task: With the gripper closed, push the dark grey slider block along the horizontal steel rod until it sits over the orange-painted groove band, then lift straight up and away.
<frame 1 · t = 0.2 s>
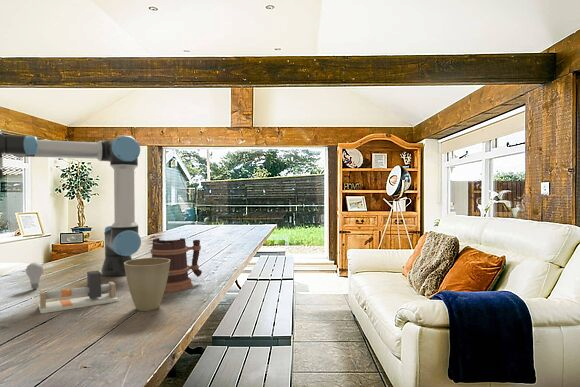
mug: (175, 286, 170), on the table
rail: (79, 303, 145), on the table
dark grey slider block: (94, 284, 147), point 6 cm above the table, slide at -5.0 cm
lightbulb: (35, 289, 167), on the table
plant pot: (148, 308, 139), on the table
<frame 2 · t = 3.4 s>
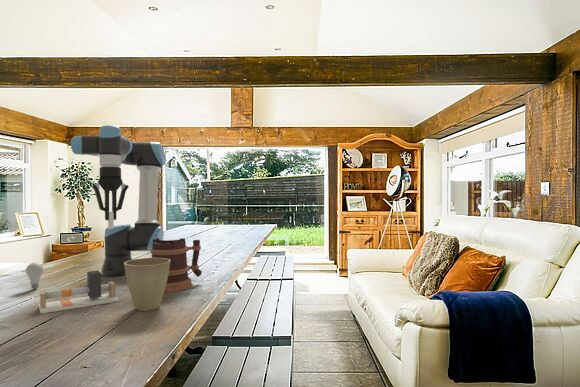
hand: (110, 228, 154), 26 cm above the table, fingers closed
nothing on the table moved.
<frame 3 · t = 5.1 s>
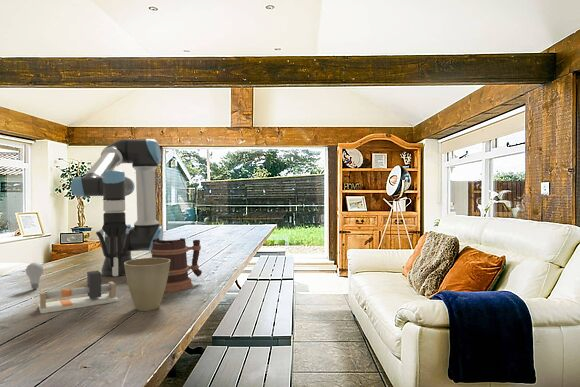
hand: (115, 275, 151), 9 cm above the table, fingers closed
nothing on the table moved.
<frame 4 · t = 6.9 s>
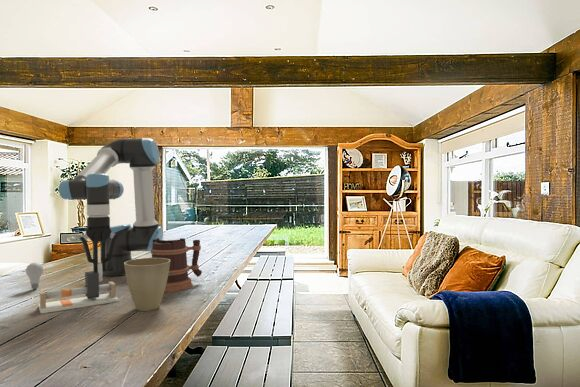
hand: (99, 280, 148), 7 cm above the table, fingers closed
dark grey slider block: (92, 284, 147), point 6 cm above the table, slide at -4.3 cm, touching gripper
everything else where it was.
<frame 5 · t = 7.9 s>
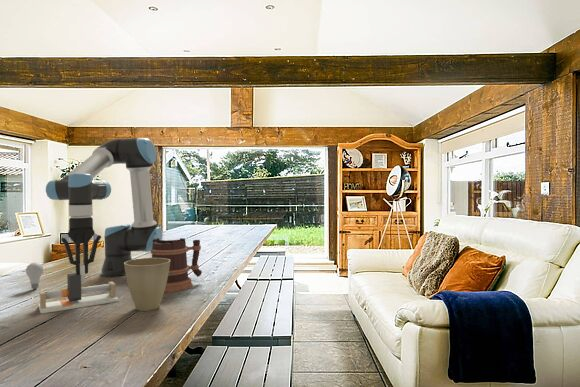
hand: (82, 283, 145), 7 cm above the table, fingers closed
dark grey slider block: (74, 286, 144), point 6 cm above the table, slide at 1.4 cm, touching gripper
everything else where it was.
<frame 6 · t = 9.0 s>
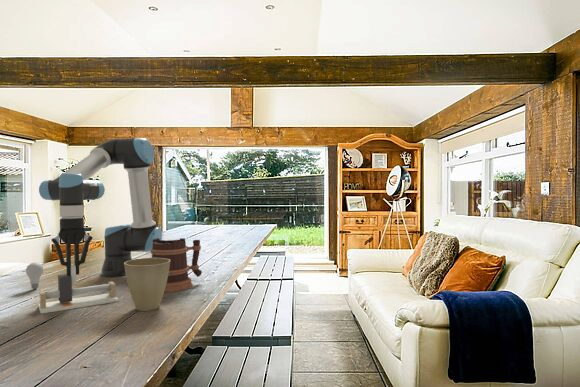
hand: (73, 284, 143), 7 cm above the table, fingers closed
dark grey slider block: (65, 288, 142), point 6 cm above the table, slide at 4.3 cm, touching gripper
everything else where it was.
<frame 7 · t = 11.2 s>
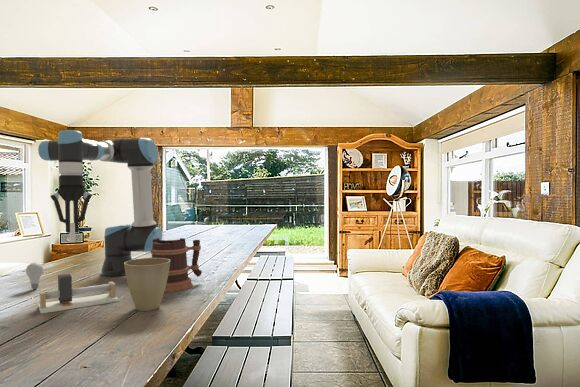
hand: (72, 241, 143), 22 cm above the table, fingers closed
dark grey slider block: (64, 288, 142), point 6 cm above the table, slide at 4.3 cm
everything else where it was.
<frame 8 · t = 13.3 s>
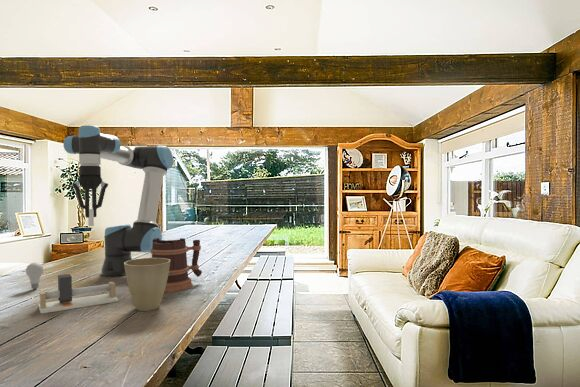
hand: (91, 225, 159), 26 cm above the table, fingers closed
nothing on the table moved.
at the end: dark grey slider block slide at 4.3 cm; dark grey slider block resting on rail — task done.
